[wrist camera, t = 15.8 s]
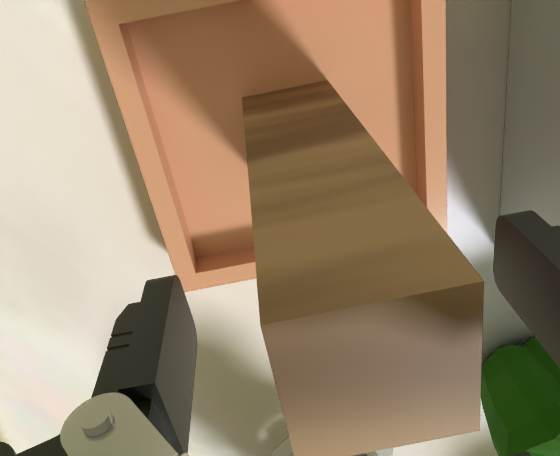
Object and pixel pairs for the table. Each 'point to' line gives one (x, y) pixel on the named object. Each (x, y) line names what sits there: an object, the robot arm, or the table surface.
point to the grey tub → (533, 112)
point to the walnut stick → (355, 284)
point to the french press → (284, 452)
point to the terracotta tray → (256, 80)
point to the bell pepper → (522, 400)
